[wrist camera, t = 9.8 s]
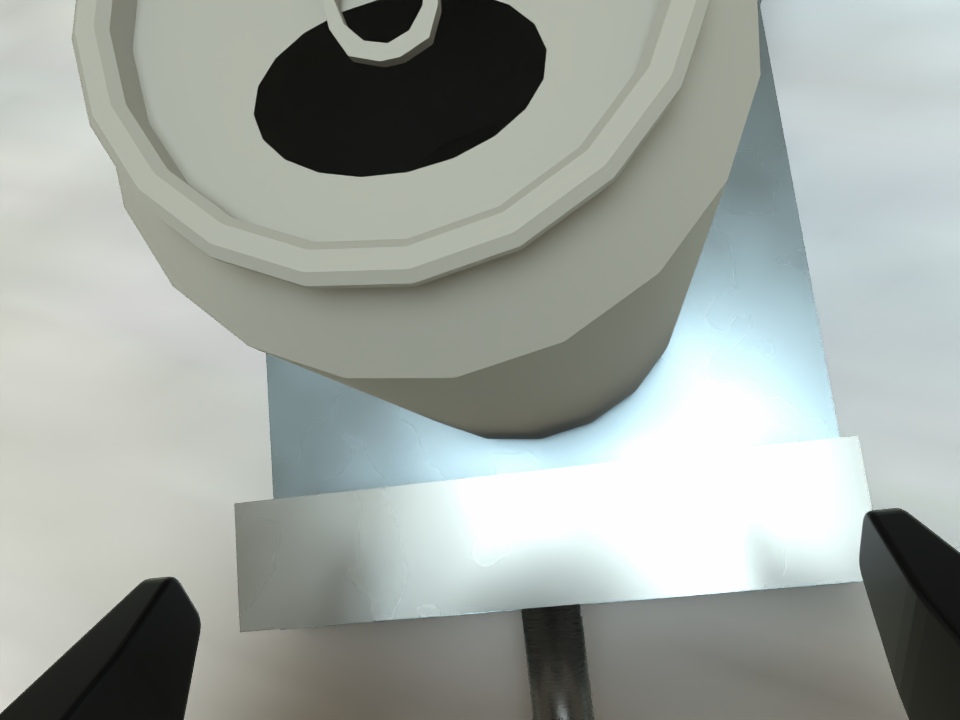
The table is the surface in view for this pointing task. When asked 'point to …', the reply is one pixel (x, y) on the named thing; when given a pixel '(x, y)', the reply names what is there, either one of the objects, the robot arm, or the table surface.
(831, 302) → the table surface
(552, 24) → the can
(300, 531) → the vise
